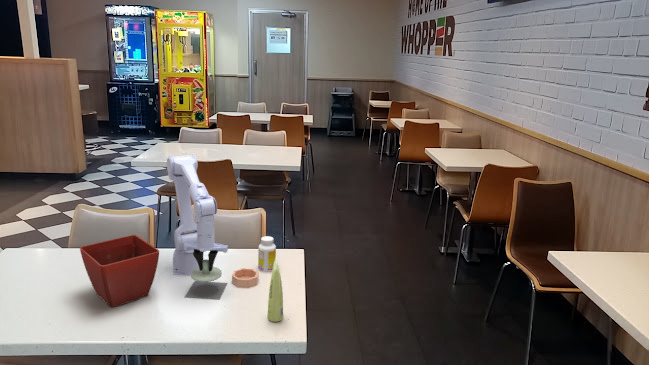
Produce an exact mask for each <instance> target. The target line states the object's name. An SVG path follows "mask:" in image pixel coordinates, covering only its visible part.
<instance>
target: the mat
mask: <svg viewBox="0 0 649 365" xmlns="http://www.w3.org/2000/svg"><path fill="white" fill-rule="evenodd" d="M193 281H194V282H193V283H192V285H190V288H189V289H188V291H187V292H186V294H185V295H184V298H187V299H202V300H213V301H214V300H215V301H218V300H219V301H220V300H221V298H222V296H223V293H224V291H225V289H226V287H227V285H228V282H218V281H217V282H215V281H209V282H200V281H196V280H193Z"/></svg>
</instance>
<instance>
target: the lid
mask: <svg viewBox="0 0 649 365" xmlns="http://www.w3.org/2000/svg"><path fill="white" fill-rule="evenodd" d="M222 274H223V273H222V269H220V268H219V267H216V266H213V269H212V271H209V258H207V259H206V258H205V259H203V261H202V271H200V269H199V268H196V269H194V270H193V271H192V272H191V276H190V278H191V279H192V280H193V281H200V282H215V281H217V280H219V279H220V278H221V277H222Z"/></svg>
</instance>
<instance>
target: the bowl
mask: <svg viewBox="0 0 649 365" xmlns="http://www.w3.org/2000/svg"><path fill="white" fill-rule="evenodd" d="M259 274H260V272H258V270H255V269H254V268H248V267H247V268H245V267H243V268H239V269H236V270H234V271H233V273H232V275H231V284H233V286H235V287H237V288H242V289H243V288H245V289H249V288H252V287H256V286H257V285H258V283H259V277H260V276H259Z"/></svg>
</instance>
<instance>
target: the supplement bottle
mask: <svg viewBox="0 0 649 365" xmlns="http://www.w3.org/2000/svg"><path fill="white" fill-rule="evenodd" d="M257 251H258V255H257V256H258V257H257V259H258V261H257V262H258V264H257V267H258V270H259V271H260V272H263V273H270V272H271V273H272V270H273V265H274V261H275V257H276V258H277V255H276V254H277V246H276V244H275V243H274V237H272V236H268V235H267V236H265V235H264V236H262V237H261V238H260V243H259V245H258V250H257Z"/></svg>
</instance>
